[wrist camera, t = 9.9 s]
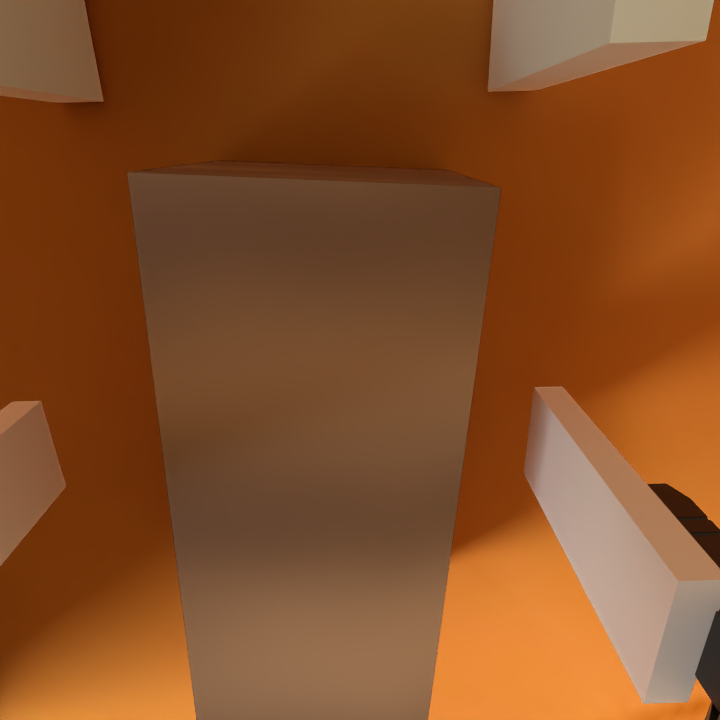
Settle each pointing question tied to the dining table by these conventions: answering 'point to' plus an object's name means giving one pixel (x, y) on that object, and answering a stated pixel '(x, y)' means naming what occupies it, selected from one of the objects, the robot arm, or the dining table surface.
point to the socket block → (507, 53)
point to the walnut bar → (312, 421)
